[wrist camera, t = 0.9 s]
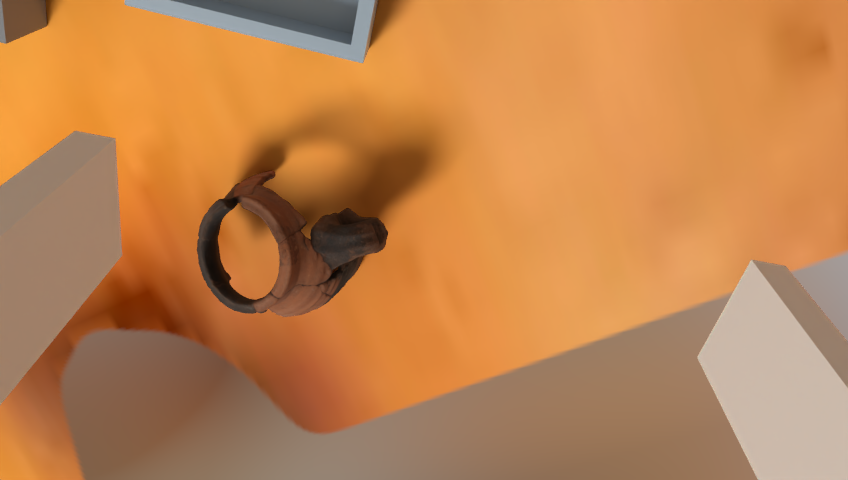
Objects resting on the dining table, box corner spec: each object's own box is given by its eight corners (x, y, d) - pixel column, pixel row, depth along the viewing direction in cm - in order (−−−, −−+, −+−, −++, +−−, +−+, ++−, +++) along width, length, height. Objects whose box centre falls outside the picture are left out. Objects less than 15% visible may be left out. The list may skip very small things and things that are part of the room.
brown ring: (293, 307, 48) (212, 343, 40) (254, 185, 47) (165, 198, 40) (431, 274, 42) (366, 308, 35) (390, 134, 41) (315, 140, 34)
